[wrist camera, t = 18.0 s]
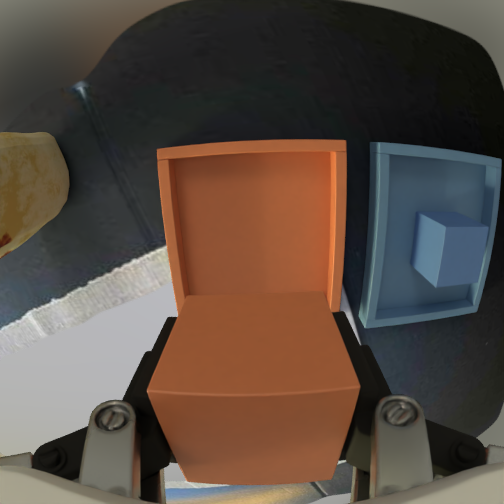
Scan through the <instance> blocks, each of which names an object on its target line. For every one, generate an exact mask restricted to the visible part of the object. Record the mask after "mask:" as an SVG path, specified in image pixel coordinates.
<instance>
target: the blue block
mask: <svg viewBox="0 0 504 504" xmlns="http://www.w3.org/2000/svg"><path fill="white" fill-rule="evenodd" d="M488 228H489V227H488V226H486V225H484V224H482V223H480V222H478V221H475V220H473V219H471V218H469V217H467V216H464V215H462V214H460V213H458V212H425V211H416V217H415V228H414V237H413V246H412V254H411V261H410V264H411V265H412V266H413V267H414V268H415V269H416V270H417V271H418V272H419V273H420V274H422V275H423V276H424V277H425V278H426V279H427V280H428V281H429V282H430V283H431V284H432V285H433V286H435V287H445V286H454V285H462V284H470V283H478V280H479V276H480V272H481V267H482V262H483V257H484V252H485V247H486V241H487V235H488Z"/></svg>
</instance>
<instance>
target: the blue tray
mask: <svg viewBox="0 0 504 504" xmlns="http://www.w3.org/2000/svg"><path fill="white" fill-rule="evenodd" d="M500 181H501V159H499V158H494V157H489V156H484V155H478V154H473V153H467V152H461V151H455V150H448V149H441V148H434V147H425V146H417V145H407V144H397V143H385V142H370V189H369V215H368V232H367V246H366V258H365V269H364V278H363V287H362V295H361V303H360V311H359V318H360V319H361V321H362V323H363V325H364V327H365V328H374V327H382V326H391V325H399V324H406V323H413V322H420V321H427V320H433V319H440V318H446V317H451V316H457V315H463V314H468V313H473V312H477V309H478V306H479V302H480V299H481V295H482V291H483V287H484V283H485V279H486V275H487V271H488V266H489V262H490V257H491V252H492V246H493V241H494V235H495V228H496V221H497V214H498V205H499V195H500ZM416 211H425V212H458V213H460V214H462V215H464V216H467V217H469V218H471V219H473V220H475V221H478V222H480V223H482V224H484V225H486V226H488V227H489V228H488V235H487V241H486V247H485V252H484V257H483V262H482V267H481V272H480V276H479V280H478V283H470V284H462V285H454V286H445V287H435V286H433V285H432V284H431V283H430V282H429V281H428V280H427V279H426V278H425V277H424V276H423V275H422V274H420V273H419V272H418V271H417V270H416V269H415V268H414V267H413V266H412V265H411V264H410V261H411V254H412V246H413V237H414V228H415V217H416Z"/></svg>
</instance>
